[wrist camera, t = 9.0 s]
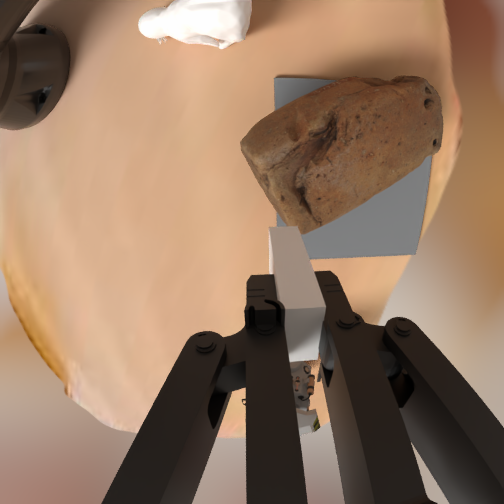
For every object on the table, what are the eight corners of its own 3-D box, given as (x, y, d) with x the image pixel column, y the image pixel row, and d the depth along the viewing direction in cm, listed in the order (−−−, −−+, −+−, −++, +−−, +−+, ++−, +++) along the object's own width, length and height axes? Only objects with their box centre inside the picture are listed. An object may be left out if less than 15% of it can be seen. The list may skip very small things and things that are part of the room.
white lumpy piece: (245, 33, 18) (112, 43, 19) (254, 52, 26) (149, 54, 26) (252, -27, 15) (121, -13, 16) (259, 4, 23) (155, 9, 23)
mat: (274, 78, 27) (274, 77, 27) (432, 96, 27) (434, 96, 27) (276, 258, 38) (277, 260, 37) (413, 252, 38) (415, 254, 37)
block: (272, 206, 32) (409, 129, 30) (300, 251, 27) (452, 157, 25) (225, 129, 25) (392, 49, 22) (248, 162, 20) (445, 66, 17)
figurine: (239, 343, 45) (236, 425, 32) (311, 340, 45) (327, 420, 32) (242, 377, 49) (241, 450, 36) (305, 374, 49) (317, 446, 36)
